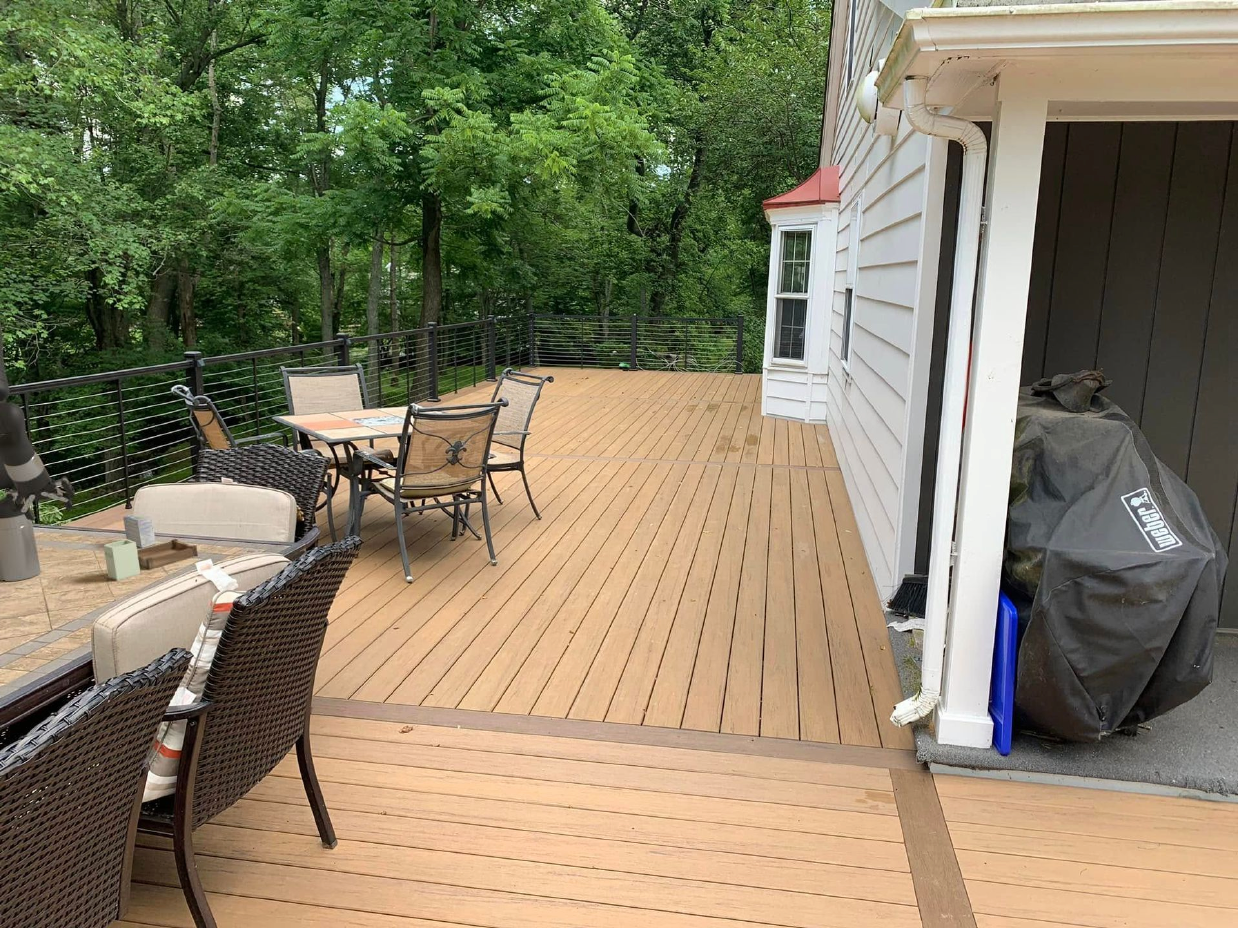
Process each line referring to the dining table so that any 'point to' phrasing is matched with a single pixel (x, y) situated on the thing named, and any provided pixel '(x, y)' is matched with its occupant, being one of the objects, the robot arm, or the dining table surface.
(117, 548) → the small square vase
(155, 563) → the walnut crate
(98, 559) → the dining table surface
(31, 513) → the robot arm
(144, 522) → the medicine box
